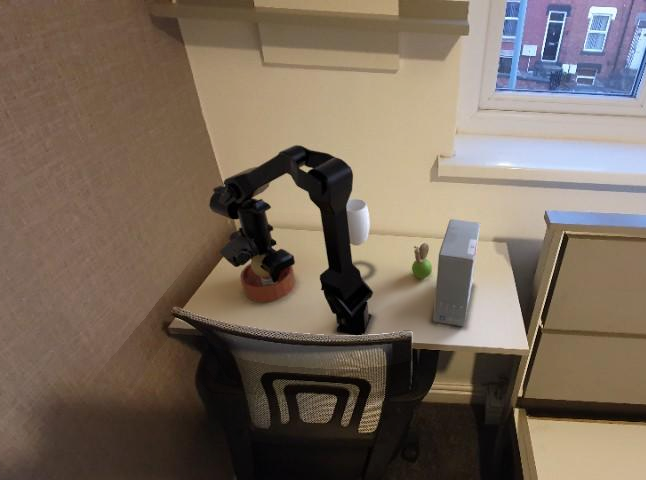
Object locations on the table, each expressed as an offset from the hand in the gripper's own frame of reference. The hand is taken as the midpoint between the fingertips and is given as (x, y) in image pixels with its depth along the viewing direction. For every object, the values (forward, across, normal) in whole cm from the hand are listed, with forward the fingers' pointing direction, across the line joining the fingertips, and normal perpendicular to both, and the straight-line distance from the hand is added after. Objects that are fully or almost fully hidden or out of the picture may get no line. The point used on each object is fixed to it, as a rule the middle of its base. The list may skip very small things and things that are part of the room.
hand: (268, 276), depth 99 cm
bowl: (+4, 0, 0) cm, 4 cm away
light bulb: (+3, 0, 0) cm, 3 cm away
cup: (+4, +12, +20) cm, 23 cm away
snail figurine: (+4, +26, +29) cm, 39 cm away
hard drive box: (+4, +39, +27) cm, 47 cm away
